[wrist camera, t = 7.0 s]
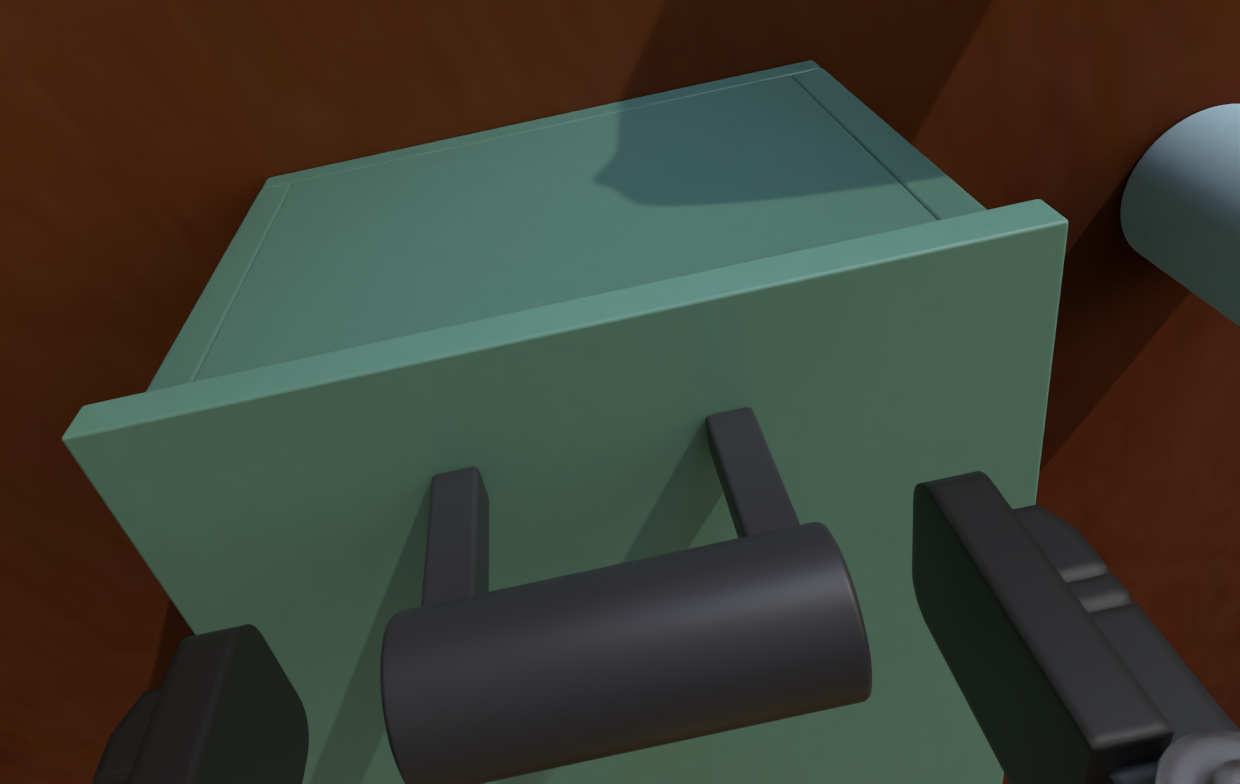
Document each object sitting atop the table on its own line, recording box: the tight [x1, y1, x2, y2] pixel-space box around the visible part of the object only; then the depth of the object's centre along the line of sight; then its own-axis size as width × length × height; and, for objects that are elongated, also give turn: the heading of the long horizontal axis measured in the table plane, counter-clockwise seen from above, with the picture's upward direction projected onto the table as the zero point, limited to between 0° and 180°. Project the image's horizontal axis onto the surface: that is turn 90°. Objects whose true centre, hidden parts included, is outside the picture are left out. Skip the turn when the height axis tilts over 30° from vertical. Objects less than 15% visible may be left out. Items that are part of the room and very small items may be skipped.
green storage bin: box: [146, 60, 987, 392], centre depth 22 cm, size 17×14×11 cm
